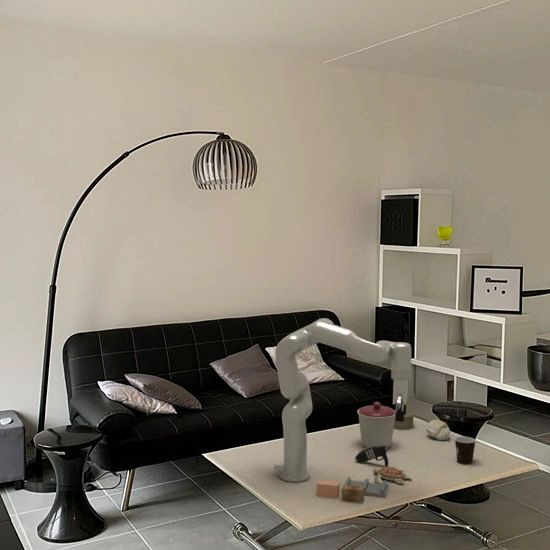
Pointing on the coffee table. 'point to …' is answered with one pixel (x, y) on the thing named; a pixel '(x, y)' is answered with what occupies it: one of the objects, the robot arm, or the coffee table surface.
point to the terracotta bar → (328, 489)
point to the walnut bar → (353, 493)
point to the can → (405, 422)
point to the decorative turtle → (390, 474)
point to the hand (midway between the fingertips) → (400, 417)
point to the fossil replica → (438, 430)
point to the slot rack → (370, 487)
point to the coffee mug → (464, 450)
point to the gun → (372, 454)
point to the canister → (376, 425)
